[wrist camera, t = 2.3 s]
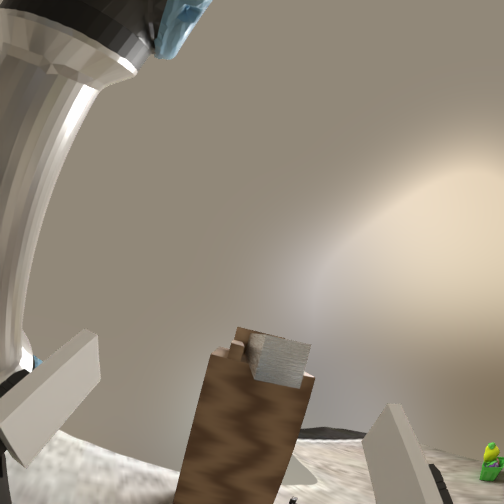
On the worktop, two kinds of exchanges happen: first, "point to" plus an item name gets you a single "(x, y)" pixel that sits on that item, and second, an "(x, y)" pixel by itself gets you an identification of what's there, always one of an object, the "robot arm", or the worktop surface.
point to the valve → (293, 500)
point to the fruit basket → (491, 463)
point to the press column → (240, 432)
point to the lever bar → (277, 359)
